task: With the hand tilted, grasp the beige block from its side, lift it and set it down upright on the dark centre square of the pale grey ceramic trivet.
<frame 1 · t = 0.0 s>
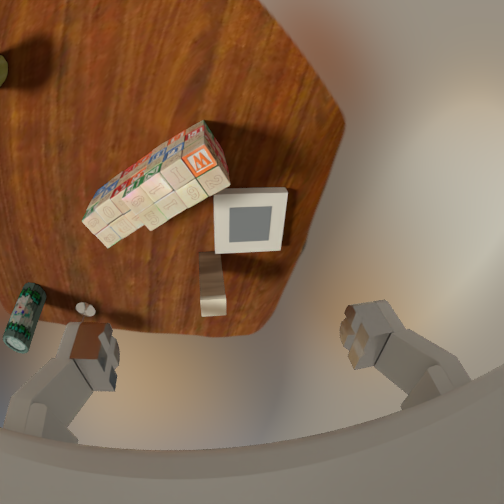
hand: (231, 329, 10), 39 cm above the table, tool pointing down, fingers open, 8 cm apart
trivet: (248, 218, 54), on the table
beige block: (209, 259, 58), on the table
can: (35, 291, 57), on the table
stack of blocks: (156, 169, 46), on the table
wineglass: (85, 308, 62), on the table
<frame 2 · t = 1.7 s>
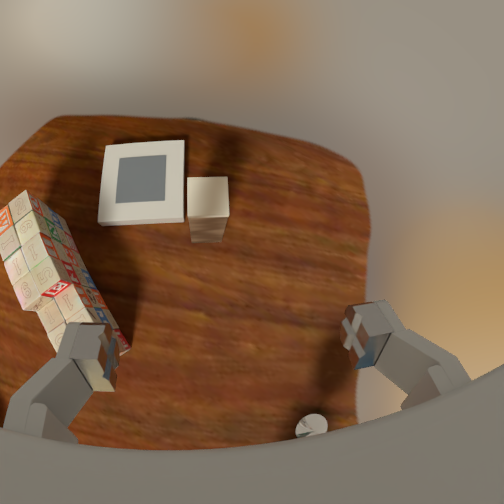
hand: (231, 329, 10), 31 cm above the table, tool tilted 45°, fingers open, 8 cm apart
trivet: (143, 184, 42), on the table
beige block: (206, 228, 42), on the table
stack of blocks: (77, 292, 37), on the table
wineglass: (311, 428, 39), on the table
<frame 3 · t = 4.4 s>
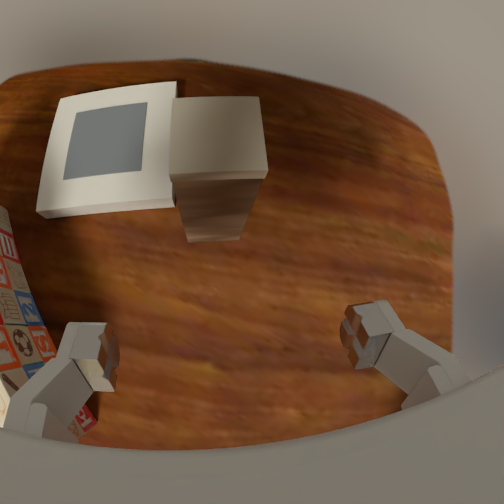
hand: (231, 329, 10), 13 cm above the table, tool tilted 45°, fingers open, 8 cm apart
trivet: (111, 150, 24), on the table
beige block: (212, 216, 24), on the table
stack of blocks: (18, 324, 20), on the table
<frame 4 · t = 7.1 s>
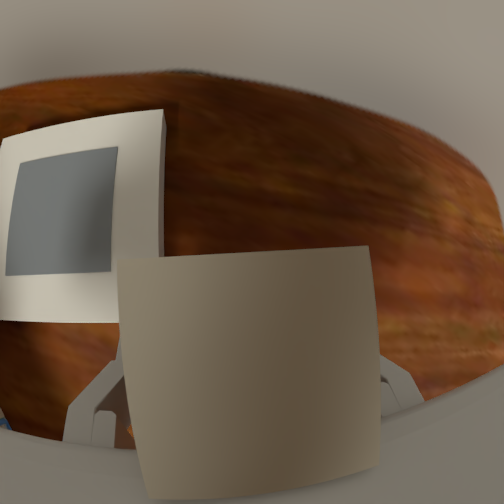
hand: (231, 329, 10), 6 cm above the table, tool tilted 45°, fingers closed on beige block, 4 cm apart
trivet: (70, 221, 16), on the table
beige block: (224, 335, 16), on the table, touching gripper
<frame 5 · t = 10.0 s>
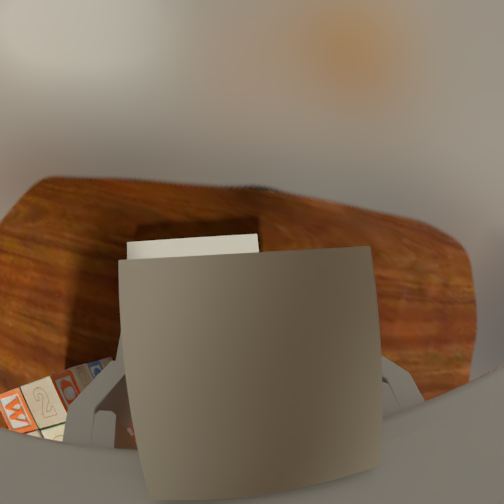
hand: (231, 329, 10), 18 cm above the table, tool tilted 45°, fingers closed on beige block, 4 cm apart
trivet: (196, 305, 28), on the table
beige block: (224, 336, 16), point 12 cm above the table, touching gripper
stack of blocks: (135, 455, 24), on the table
when the fingers open (10 cm above the table, at t = 13.0 s): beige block drops 1 cm, resting on trivet.
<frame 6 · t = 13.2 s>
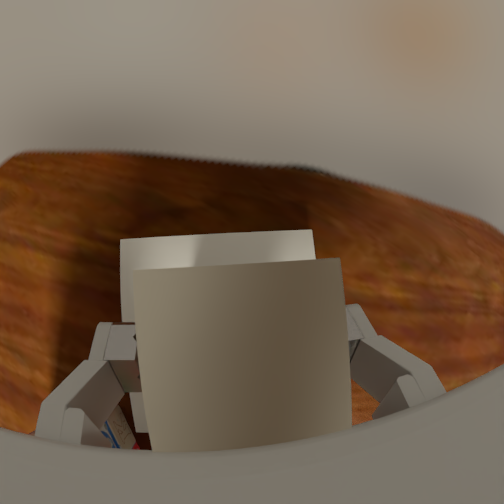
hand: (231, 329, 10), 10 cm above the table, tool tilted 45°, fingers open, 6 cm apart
trivet: (222, 332, 19), on the table
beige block: (222, 334, 17), point 2 cm above the table, touching trivet
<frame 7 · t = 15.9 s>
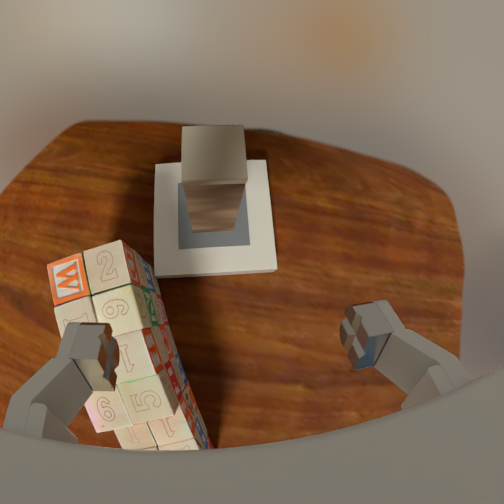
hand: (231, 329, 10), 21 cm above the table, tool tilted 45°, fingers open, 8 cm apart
trivet: (212, 219, 32), on the table
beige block: (212, 212, 30), point 2 cm above the table, touching trivet
stack of blocks: (156, 373, 29), on the table
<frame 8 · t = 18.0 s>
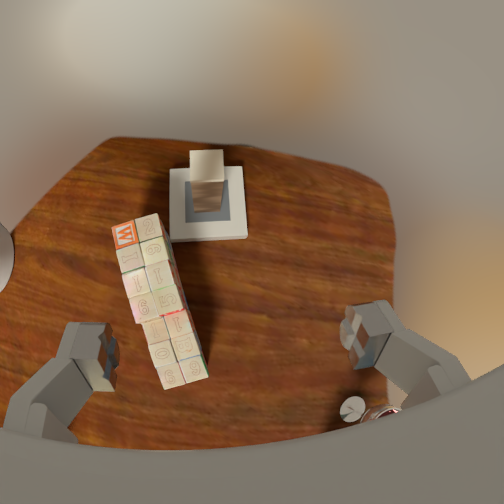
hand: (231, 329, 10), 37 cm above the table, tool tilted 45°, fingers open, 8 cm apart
trivet: (207, 205, 50), on the table
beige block: (206, 200, 48), point 2 cm above the table, touching trivet
stack of blocks: (168, 306, 46), on the table
wineglass: (352, 409, 46), on the table
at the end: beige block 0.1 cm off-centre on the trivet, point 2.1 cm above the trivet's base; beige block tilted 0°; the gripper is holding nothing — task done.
